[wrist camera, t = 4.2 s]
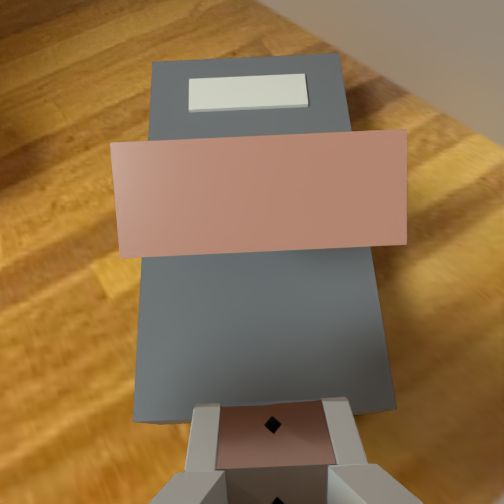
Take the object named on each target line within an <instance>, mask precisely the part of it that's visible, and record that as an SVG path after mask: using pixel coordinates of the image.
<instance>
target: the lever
mask: <svg viewBox="0 0 504 504" xmlns="http://www.w3.org/2000/svg"><path fill="white" fill-rule="evenodd" d="M110 148H111V160H112V171H113V183H114V194H115V206H116V217H117V229H118V240H119V252H120V258H138V257H159V256H180V255H201V254H222V253H242V252H263V251H284V250H305V249H326V248H347V247H368V246H389V245H407V129H394V130H373V131H351V132H330V133H309V134H287V135H266V136H245V137H223V138H202V139H181V140H159V141H138V142H116V143H110Z"/></svg>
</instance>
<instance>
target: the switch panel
mask: <svg viewBox="0 0 504 504" xmlns="http://www.w3.org/2000/svg"><path fill="white" fill-rule="evenodd" d="M351 131H352V130H351V124H350V118H349V112H348V106H347V100H346V94H345V87H344V81H343V75H342V69H341V63H340V57H339V53H333V54H312V55H290V56H268V57H247V58H225V59H203V60H182V61H160V62H152V80H151V99H150V117H149V135H148V141H159V140H181V139H202V138H223V137H245V136H266V135H287V134H309V133H330V132H351ZM334 397H346V398H347V399H348V401H349V404H350V407H351V410H352V413H353V415H364V414H372V413H377V412H383V411H388V410H394V409H397V407H396V401H395V395H394V389H393V382H392V376H391V370H390V364H389V358H388V352H387V346H386V339H385V333H384V327H383V321H382V315H381V309H380V303H379V296H378V290H377V284H376V278H375V272H374V266H373V260H372V253H371V247H370V246H368V247H347V248H326V249H305V250H284V251H263V252H242V253H222V254H201V255H180V256H159V257H142V264H141V282H140V300H139V319H138V337H137V355H136V374H135V392H134V411H133V422H138V423H149V424H159V425H162V424H182V423H191V422H192V415H193V409H194V407H195V405H196V404H204V403H227V402H271V401H289V400H308V399H320V398H334Z"/></svg>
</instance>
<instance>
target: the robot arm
mask: <svg viewBox="0 0 504 504" xmlns="http://www.w3.org/2000/svg"><path fill="white" fill-rule="evenodd" d="M148 504H424V503H423V502H422V501H420V500H419V499H418V498H417V497H416V496H415V495H413V494H412V493H411V492H410V491H409V490H408V489H406V488H405V487H404V486H403V485H402V484H401V483H399V482H398V481H397V480H396V479H395V478H393V477H392V476H391V475H390V474H389V473H388V472H386V471H385V470H384V469H383V468H382V467H381V466H379V465H378V464H377V463H376V464H369V462H368V459H367V456H366V453H365V450H364V447H363V444H362V441H361V438H360V435H359V432H358V429H357V425H356V422H355V419H354V416H353V413H352V410H351V407H350V404H349V401H348V399H347V398H346V397H334V398H320V399H308V400H289V401H271V402H227V403H204V404H196V405H195V407H194V409H193V415H192V422H191V429H190V436H189V442H188V449H187V456H186V462H185V469H184V472H180V473H175V474H174V475H173V477H172V478H171V479H170V480H169V481H168V482H167V483H166V484H165V485H164V487H163V488H162V489H161V490H160V491H159V492H158V493H157V494H156V495H155V497H154V498H153V499H152V500H151V501H150V502H149V503H148Z"/></svg>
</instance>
